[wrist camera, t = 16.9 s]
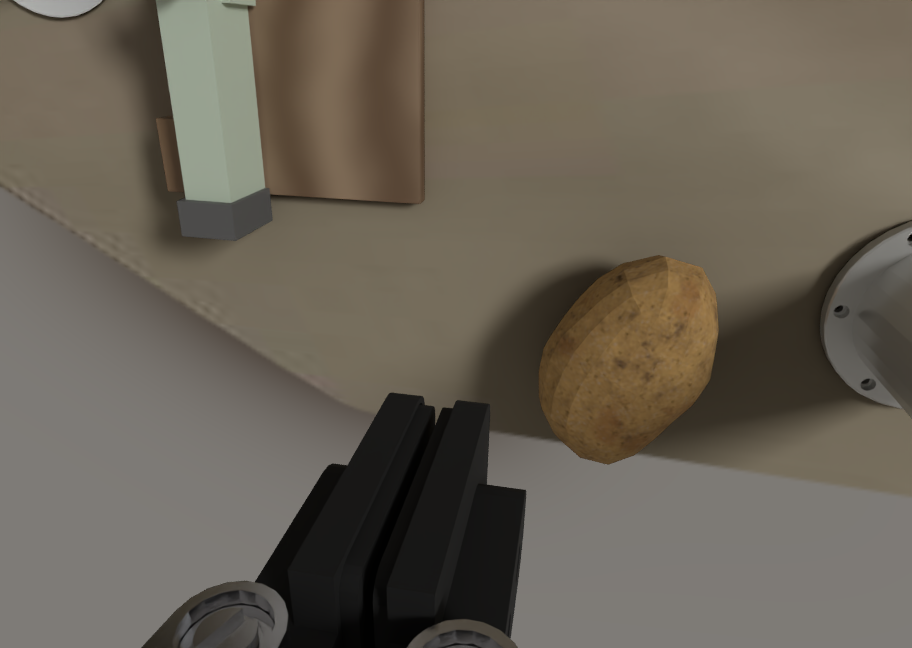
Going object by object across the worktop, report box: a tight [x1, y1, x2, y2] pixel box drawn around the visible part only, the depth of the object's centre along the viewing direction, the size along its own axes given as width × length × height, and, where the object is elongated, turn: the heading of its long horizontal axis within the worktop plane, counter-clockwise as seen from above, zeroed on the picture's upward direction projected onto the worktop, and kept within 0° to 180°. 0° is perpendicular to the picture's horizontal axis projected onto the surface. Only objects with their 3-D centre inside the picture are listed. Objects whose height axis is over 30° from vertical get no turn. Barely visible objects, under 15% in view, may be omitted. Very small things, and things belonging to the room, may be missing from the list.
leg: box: [156, 0, 272, 241], centre depth 38 cm, size 16×4×5 cm, turn 178°
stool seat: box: [156, 0, 425, 204], centre depth 36 cm, size 16×17×8 cm
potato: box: [539, 255, 719, 464], centre depth 39 cm, size 10×14×8 cm
